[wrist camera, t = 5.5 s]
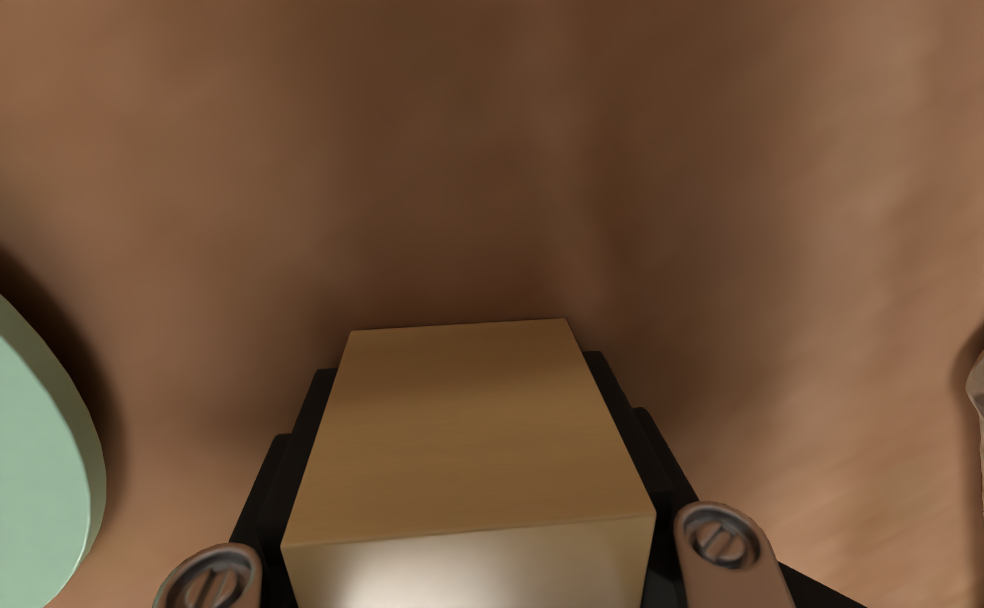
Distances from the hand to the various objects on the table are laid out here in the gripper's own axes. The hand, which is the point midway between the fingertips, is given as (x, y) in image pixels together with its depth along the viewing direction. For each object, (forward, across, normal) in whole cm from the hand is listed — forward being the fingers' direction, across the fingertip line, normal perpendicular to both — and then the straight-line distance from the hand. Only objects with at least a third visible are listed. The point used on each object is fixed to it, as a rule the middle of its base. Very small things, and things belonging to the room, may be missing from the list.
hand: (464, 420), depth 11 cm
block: (0, 0, 0) cm, 0 cm away
